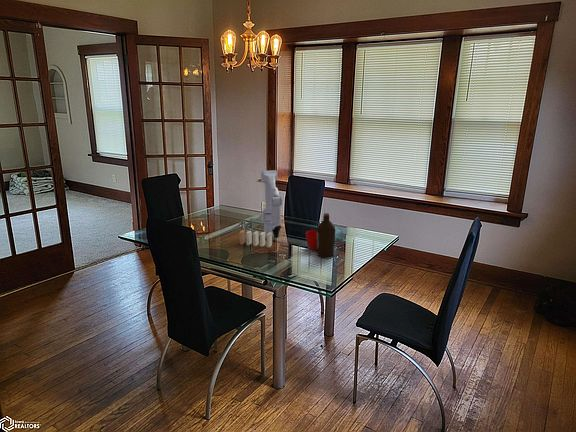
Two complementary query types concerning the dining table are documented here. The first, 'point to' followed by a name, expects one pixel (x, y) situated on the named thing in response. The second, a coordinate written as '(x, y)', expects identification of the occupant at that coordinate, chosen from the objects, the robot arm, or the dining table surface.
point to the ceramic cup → (312, 239)
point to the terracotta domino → (242, 237)
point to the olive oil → (325, 238)
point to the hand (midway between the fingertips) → (276, 237)
